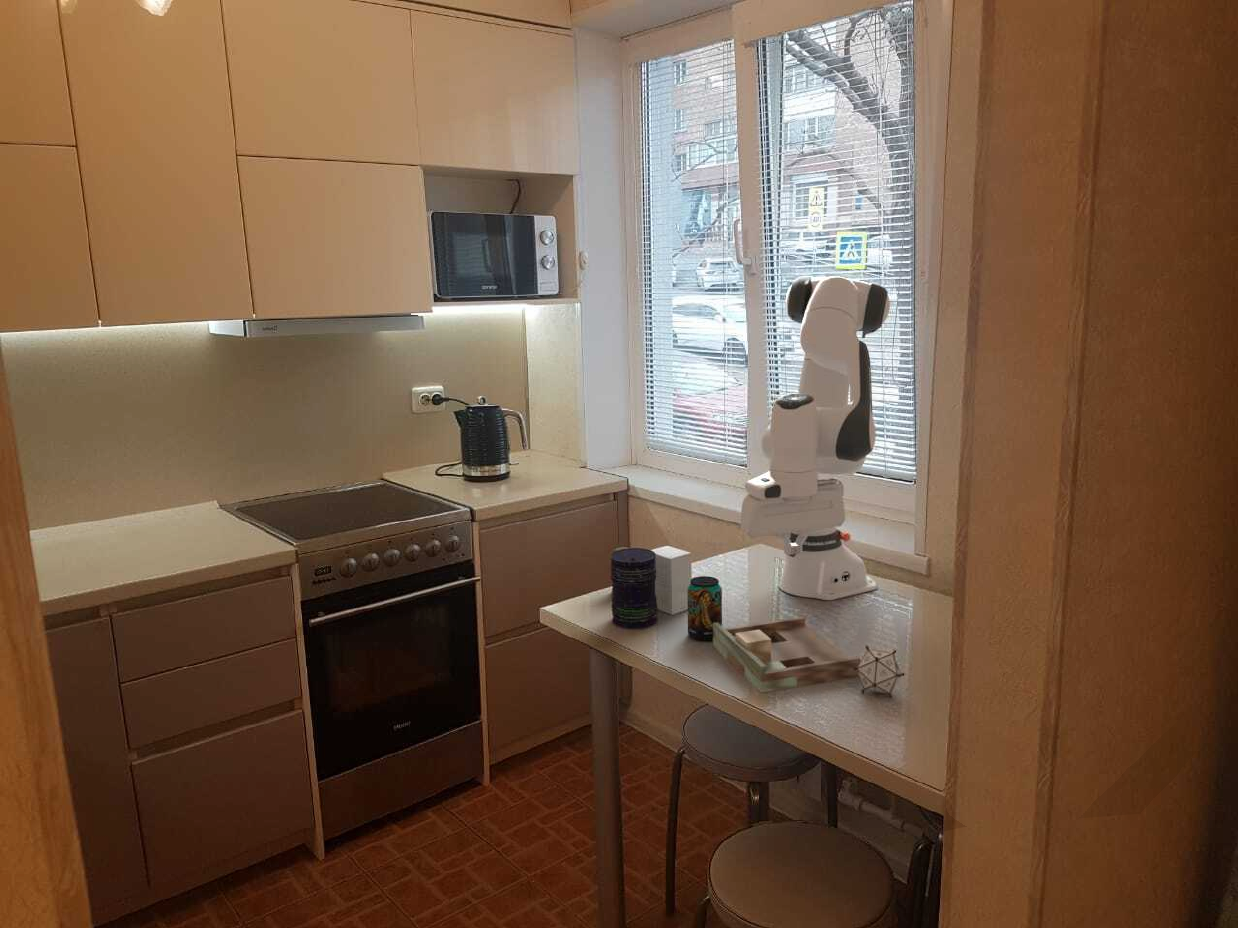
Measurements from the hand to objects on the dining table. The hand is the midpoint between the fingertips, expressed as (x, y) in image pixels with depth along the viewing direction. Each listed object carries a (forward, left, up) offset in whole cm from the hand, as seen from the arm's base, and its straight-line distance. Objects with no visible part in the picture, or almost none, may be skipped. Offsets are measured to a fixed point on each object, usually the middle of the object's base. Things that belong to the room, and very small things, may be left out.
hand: (793, 553), depth 174 cm
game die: (-7, +18, -21) cm, 29 cm away
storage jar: (+23, -29, -21) cm, 43 cm away
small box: (+13, -34, -21) cm, 42 cm away
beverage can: (+12, -16, -21) cm, 29 cm away
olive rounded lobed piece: (+20, -46, -21) cm, 54 cm away
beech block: (+9, +1, -19) cm, 21 cm away
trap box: (+2, 0, -21) cm, 21 cm away
